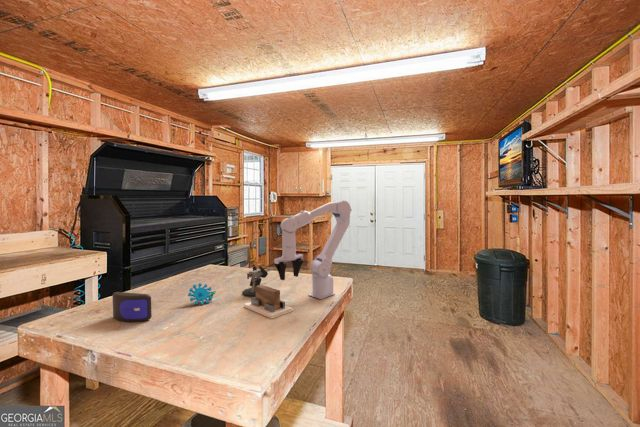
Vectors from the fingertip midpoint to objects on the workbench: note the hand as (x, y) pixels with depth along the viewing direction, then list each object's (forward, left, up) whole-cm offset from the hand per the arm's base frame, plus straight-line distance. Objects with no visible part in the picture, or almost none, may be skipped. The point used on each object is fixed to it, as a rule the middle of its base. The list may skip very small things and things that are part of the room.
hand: (289, 278), depth 125 cm
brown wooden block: (+13, +2, -8) cm, 15 cm away
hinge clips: (+13, +2, -8) cm, 15 cm away
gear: (+27, -25, -10) cm, 38 cm away
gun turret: (+1, -20, -10) cm, 22 cm away
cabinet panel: (+13, +2, -9) cm, 16 cm away
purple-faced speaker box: (+52, -27, -10) cm, 59 cm away
